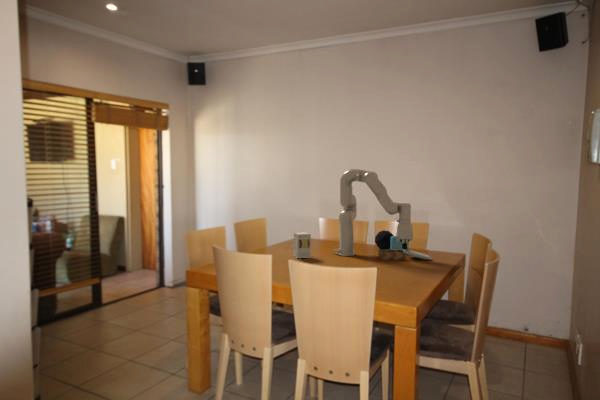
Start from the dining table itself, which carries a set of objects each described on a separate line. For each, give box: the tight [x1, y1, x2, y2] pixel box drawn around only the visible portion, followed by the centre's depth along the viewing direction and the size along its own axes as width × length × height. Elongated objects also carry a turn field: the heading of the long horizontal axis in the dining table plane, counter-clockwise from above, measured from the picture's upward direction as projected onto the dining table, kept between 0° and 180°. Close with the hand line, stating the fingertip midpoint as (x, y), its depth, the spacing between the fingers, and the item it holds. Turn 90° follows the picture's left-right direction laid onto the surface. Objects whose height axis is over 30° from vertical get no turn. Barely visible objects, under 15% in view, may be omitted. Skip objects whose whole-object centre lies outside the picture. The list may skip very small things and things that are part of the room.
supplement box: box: [293, 231, 312, 260], centre depth 285 cm, size 10×9×17 cm
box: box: [377, 249, 407, 261], centre depth 280 cm, size 16×11×5 cm
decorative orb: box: [374, 229, 394, 250], centre depth 312 cm, size 14×15×15 cm
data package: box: [389, 235, 410, 255], centre depth 298 cm, size 12×4×12 cm, turn 93°
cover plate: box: [403, 246, 432, 261], centre depth 280 cm, size 16×13×5 cm
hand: (404, 249), depth 280 cm, fingers closed
